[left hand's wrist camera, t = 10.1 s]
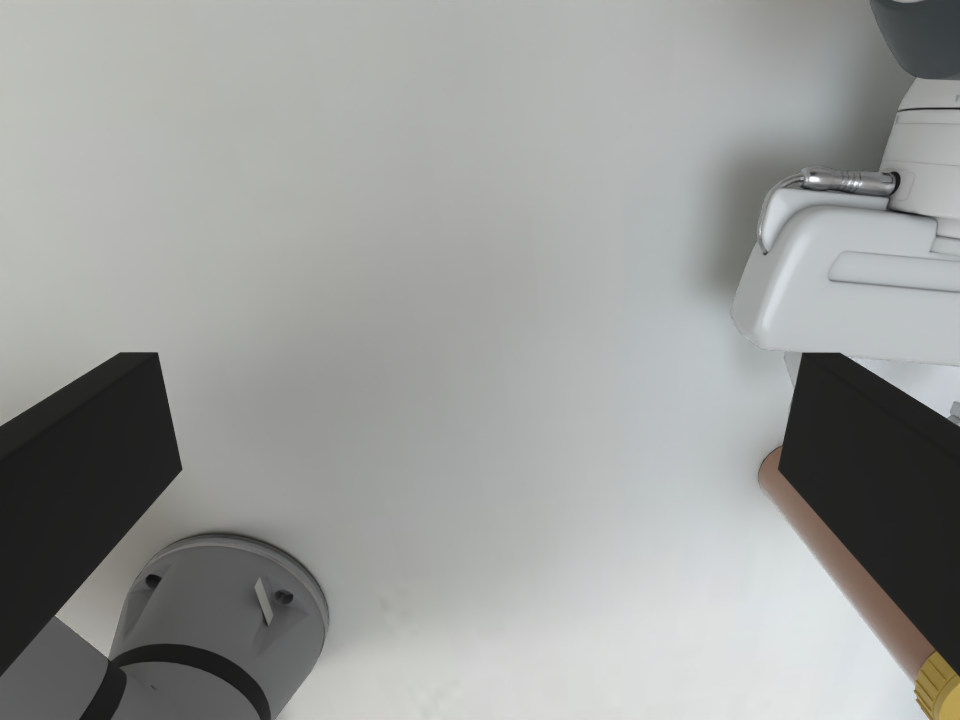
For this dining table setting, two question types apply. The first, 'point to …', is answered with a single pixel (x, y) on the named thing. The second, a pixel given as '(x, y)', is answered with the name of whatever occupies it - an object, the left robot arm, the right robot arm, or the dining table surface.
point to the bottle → (847, 573)
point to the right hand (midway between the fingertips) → (886, 429)
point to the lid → (938, 689)
